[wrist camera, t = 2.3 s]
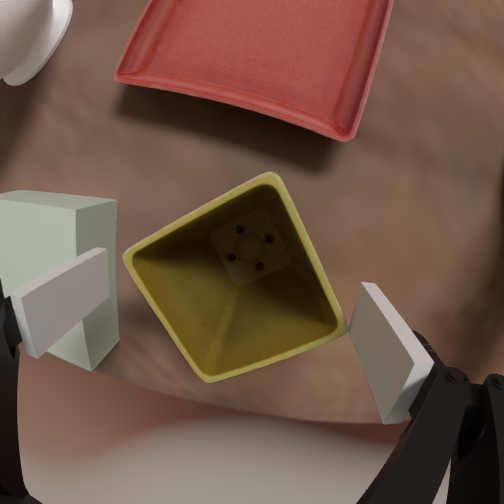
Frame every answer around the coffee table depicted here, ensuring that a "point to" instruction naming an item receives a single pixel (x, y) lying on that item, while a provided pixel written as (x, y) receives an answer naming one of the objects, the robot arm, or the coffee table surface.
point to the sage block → (61, 259)
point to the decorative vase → (30, 36)
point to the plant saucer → (263, 56)
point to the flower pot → (238, 282)
